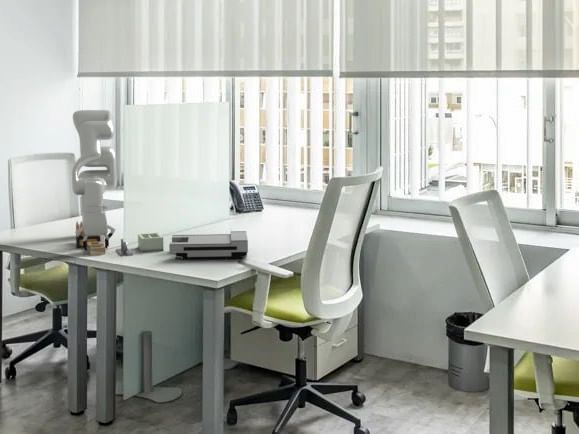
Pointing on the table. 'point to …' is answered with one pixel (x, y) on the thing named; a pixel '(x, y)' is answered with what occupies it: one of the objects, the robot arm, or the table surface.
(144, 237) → the green compartment box
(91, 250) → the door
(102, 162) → the robot arm
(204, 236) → the grey printer
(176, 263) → the table surface
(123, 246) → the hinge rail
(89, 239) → the ammunition clip
